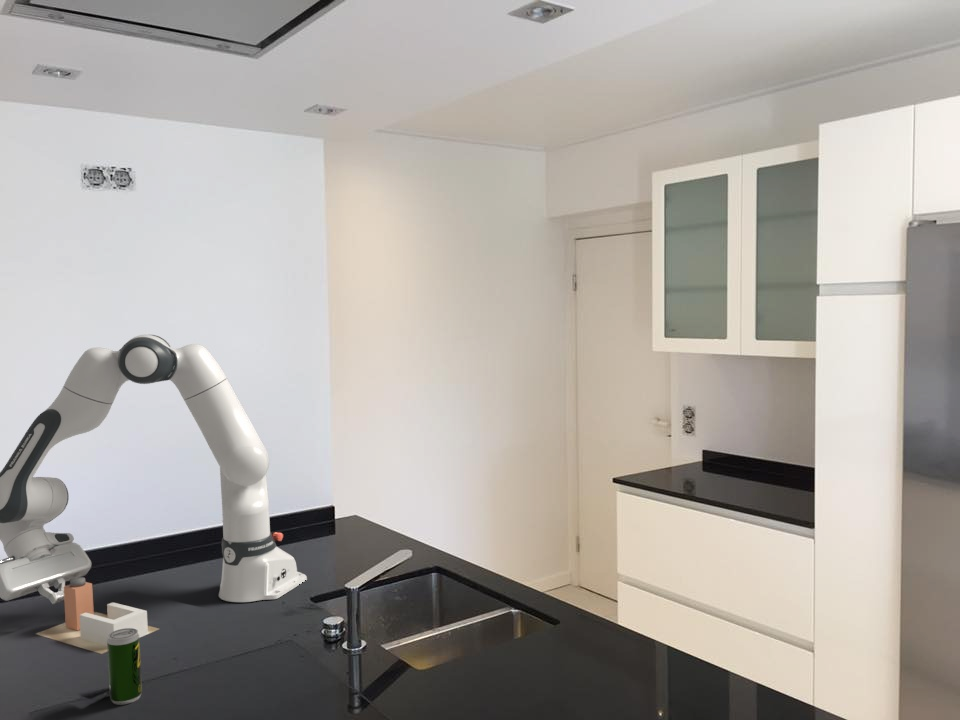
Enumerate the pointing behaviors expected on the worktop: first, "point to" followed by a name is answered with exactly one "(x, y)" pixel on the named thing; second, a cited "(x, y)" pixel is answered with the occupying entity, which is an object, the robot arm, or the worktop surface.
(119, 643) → the beer can
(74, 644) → the base board
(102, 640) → the socket
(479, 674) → the worktop surface
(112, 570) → the worktop surface
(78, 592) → the plug
